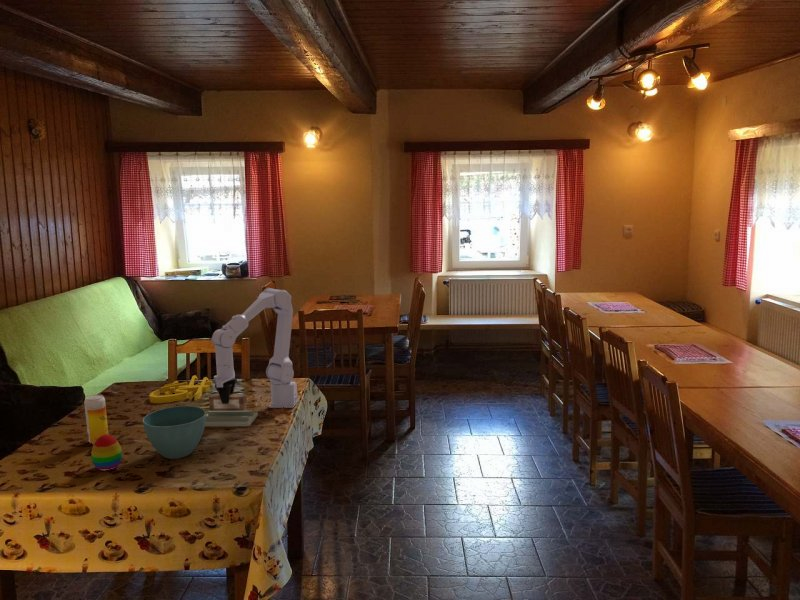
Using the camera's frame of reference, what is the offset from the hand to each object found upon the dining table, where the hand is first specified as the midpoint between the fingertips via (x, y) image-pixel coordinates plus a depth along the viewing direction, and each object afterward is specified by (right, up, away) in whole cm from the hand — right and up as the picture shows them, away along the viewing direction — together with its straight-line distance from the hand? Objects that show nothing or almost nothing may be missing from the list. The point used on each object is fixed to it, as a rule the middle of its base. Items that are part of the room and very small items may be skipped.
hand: (227, 401), depth 227 cm
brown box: (0, -3, 0) cm, 3 cm away
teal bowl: (-8, -12, -27) cm, 31 cm away
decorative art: (-27, -2, +37) cm, 46 cm away
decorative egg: (-25, -14, -36) cm, 46 cm away
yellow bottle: (-38, -11, -16) cm, 42 cm away
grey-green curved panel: (0, -7, +1) cm, 7 cm away
